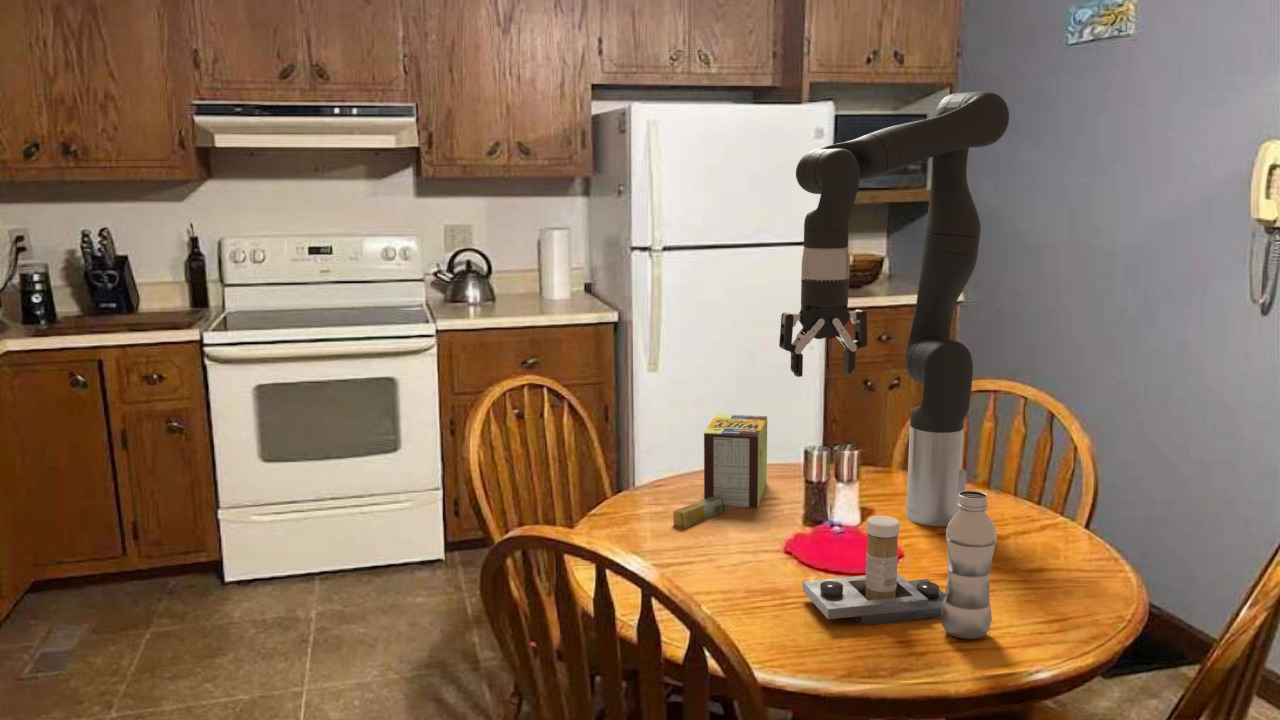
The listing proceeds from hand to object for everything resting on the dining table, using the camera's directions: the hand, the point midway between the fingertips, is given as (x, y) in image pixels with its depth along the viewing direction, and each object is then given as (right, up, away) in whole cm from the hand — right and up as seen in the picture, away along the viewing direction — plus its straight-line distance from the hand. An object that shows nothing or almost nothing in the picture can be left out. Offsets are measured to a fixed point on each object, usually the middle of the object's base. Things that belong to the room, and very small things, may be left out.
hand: (822, 374), depth 163 cm
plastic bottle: (+15, -35, -26) cm, 47 cm away
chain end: (+8, -34, -17) cm, 39 cm away
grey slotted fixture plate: (+3, -32, -18) cm, 37 cm away
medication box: (-19, -28, +18) cm, 38 cm away
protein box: (-11, -25, +31) cm, 42 cm away
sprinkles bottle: (+5, -34, -18) cm, 39 cm away
